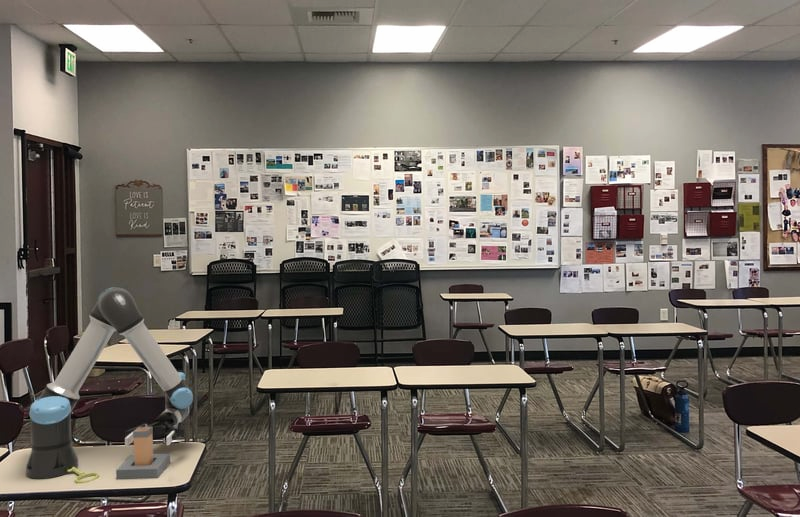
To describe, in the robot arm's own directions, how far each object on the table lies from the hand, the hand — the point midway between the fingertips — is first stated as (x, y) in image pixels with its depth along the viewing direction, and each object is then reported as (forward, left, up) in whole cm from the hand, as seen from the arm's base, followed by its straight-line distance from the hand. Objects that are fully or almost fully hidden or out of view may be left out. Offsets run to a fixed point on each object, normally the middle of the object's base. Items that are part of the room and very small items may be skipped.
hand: (146, 441), depth 205 cm
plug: (-1, -2, -9) cm, 9 cm away
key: (-19, -5, -10) cm, 22 cm away
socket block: (-1, -2, -9) cm, 9 cm away
